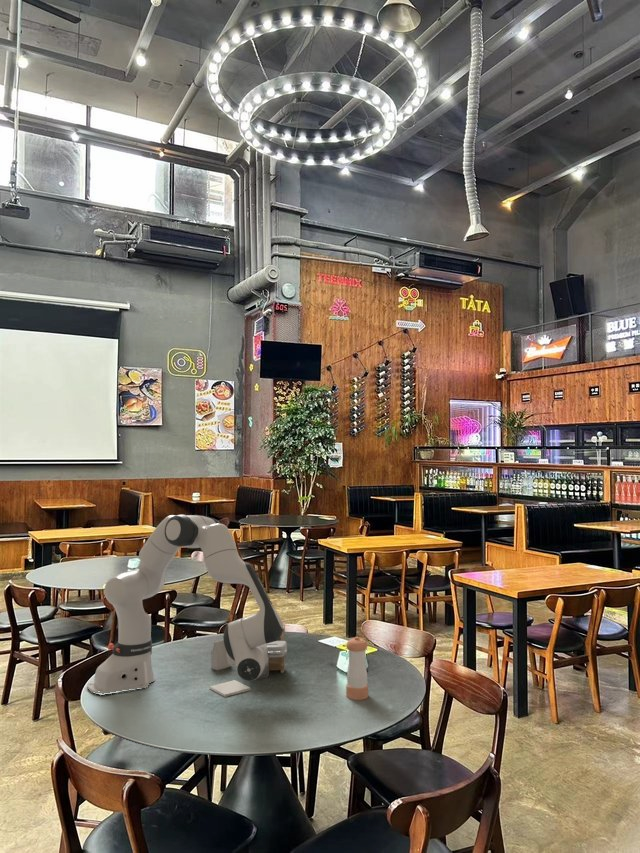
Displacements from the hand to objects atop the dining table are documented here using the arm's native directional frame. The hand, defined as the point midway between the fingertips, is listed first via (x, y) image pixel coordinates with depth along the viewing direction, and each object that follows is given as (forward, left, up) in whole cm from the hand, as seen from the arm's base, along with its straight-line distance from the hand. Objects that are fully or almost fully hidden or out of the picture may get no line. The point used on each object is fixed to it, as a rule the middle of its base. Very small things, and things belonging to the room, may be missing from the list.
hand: (258, 642), depth 212 cm
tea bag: (+2, +28, -15) cm, 32 cm away
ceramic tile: (-8, +5, -15) cm, 18 cm away
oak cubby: (+9, +11, -15) cm, 21 cm away
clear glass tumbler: (+8, +10, -15) cm, 20 cm away
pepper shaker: (+21, -27, -15) cm, 38 cm away
